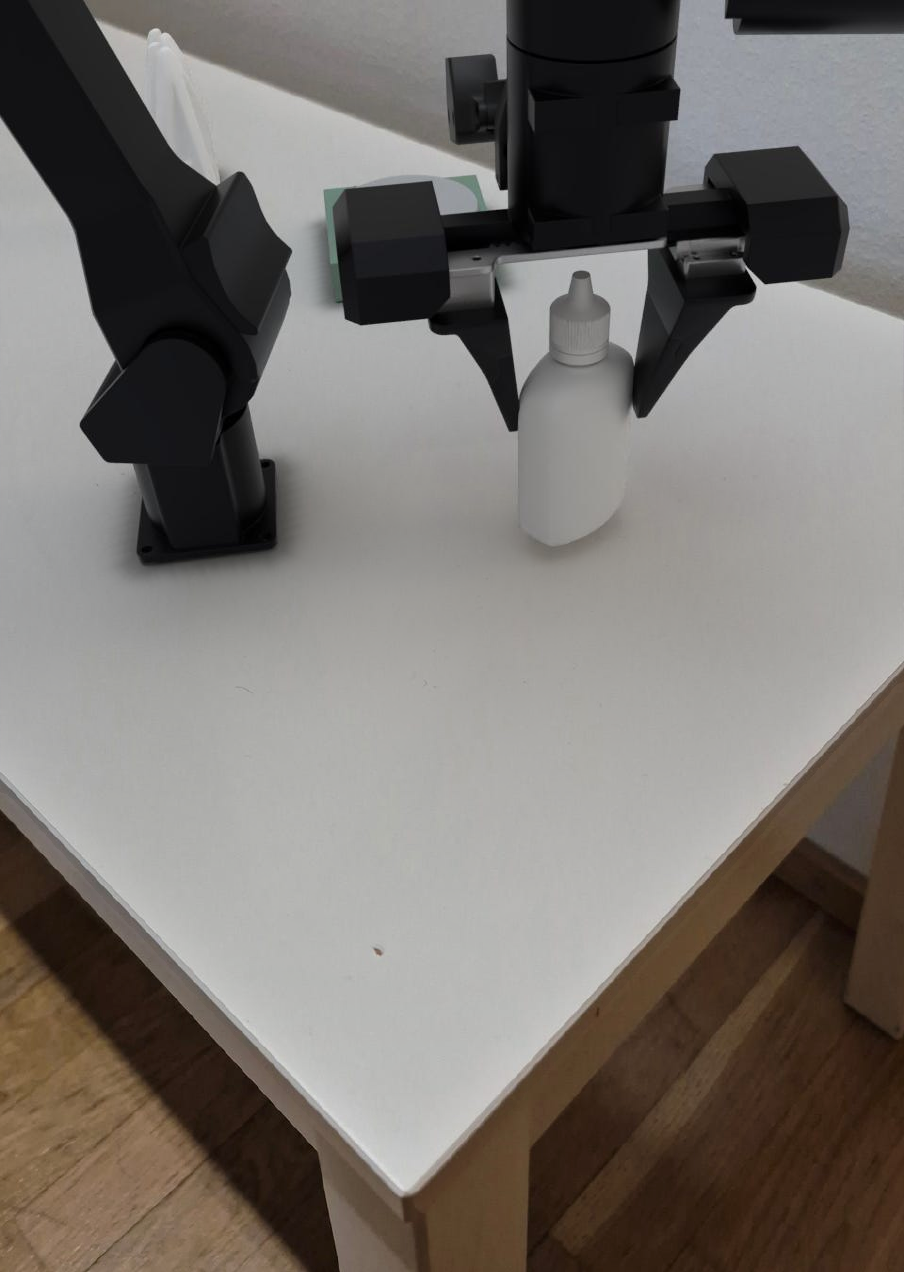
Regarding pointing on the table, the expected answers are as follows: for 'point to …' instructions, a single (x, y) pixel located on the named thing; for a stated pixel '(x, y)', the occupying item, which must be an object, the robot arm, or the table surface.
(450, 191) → the kitchen scale
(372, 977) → the table surface
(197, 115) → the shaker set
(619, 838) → the table surface
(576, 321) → the eye dropper bottle
